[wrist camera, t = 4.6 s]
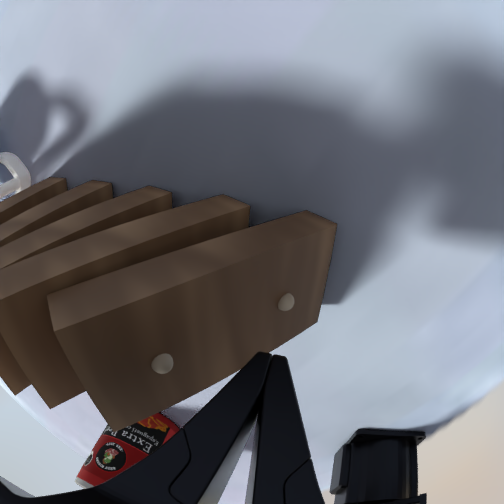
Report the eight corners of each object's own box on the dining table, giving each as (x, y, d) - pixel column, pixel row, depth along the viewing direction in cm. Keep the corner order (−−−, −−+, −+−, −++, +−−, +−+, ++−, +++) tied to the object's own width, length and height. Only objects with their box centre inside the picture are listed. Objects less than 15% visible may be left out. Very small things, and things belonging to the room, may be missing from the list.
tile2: (256, 208, 12) (-13, 313, 5) (246, 306, 14) (53, 416, 8) (223, 194, 13) (-17, 276, 6) (218, 287, 15) (37, 379, 9)
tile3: (177, 194, 13) (-46, 301, 5) (181, 287, 15) (18, 401, 8) (149, 185, 13) (-51, 275, 6) (156, 273, 16) (2, 371, 9)
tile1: (344, 227, 11) (56, 341, 5) (322, 325, 13) (117, 439, 8) (306, 210, 12) (46, 294, 7) (293, 304, 15) (98, 399, 9)
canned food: (174, 413, 24) (127, 510, 15) (191, 446, 28) (157, 525, 19) (109, 390, 26) (59, 471, 17) (134, 427, 30) (96, 496, 20)
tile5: (69, 178, 14) (-75, 267, 6) (82, 254, 17) (-28, 357, 8) (49, 177, 15) (-83, 257, 6) (63, 248, 17) (-42, 341, 9)
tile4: (116, 183, 14) (-61, 287, 5) (127, 268, 16) (-4, 384, 8) (91, 179, 14) (-70, 270, 6) (104, 259, 17) (-21, 362, 8)
